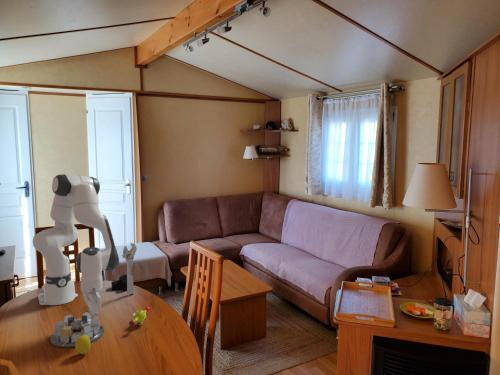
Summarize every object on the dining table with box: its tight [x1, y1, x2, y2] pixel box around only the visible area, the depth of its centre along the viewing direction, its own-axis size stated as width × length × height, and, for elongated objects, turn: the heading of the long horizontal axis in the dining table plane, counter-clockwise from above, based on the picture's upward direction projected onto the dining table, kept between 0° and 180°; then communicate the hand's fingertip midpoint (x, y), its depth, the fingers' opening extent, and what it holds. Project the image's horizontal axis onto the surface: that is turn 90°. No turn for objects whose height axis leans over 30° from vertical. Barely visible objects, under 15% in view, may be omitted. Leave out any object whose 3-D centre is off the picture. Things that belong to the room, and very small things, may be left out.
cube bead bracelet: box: [53, 311, 101, 343], centre depth 168 cm, size 18×18×6 cm
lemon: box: [74, 335, 92, 356], centre depth 152 cm, size 6×6×8 cm
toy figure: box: [128, 306, 151, 327], centre depth 179 cm, size 18×6×7 cm, turn 169°
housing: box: [49, 320, 105, 349], centre depth 168 cm, size 21×21×6 cm
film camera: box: [111, 273, 127, 292], centre depth 223 cm, size 15×10×9 cm, turn 21°
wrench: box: [121, 242, 137, 297], centre depth 211 cm, size 8×2×30 cm, turn 134°
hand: (92, 315), depth 172 cm, fingers closed
